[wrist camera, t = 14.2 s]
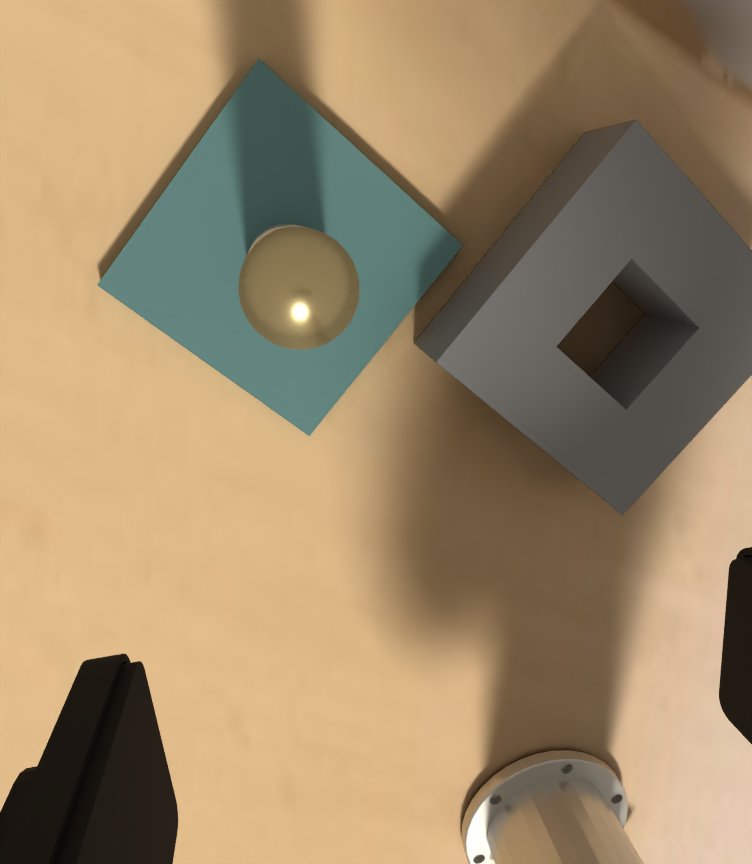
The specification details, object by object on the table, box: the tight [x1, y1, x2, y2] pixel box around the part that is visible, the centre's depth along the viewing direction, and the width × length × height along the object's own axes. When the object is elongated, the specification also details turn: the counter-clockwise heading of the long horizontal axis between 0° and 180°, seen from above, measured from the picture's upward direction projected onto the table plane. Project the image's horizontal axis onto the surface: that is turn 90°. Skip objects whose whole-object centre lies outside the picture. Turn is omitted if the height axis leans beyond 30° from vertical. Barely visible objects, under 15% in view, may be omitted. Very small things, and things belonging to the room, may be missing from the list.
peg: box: [238, 223, 360, 350], centre depth 27 cm, size 4×4×12 cm
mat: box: [98, 59, 463, 436], centre depth 33 cm, size 13×13×1 cm
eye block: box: [414, 120, 752, 515], centre depth 35 cm, size 14×14×5 cm
